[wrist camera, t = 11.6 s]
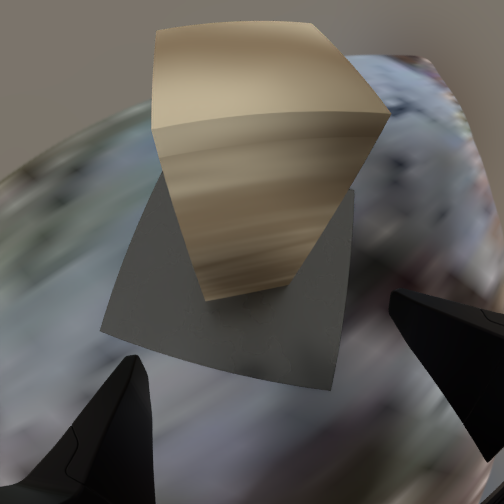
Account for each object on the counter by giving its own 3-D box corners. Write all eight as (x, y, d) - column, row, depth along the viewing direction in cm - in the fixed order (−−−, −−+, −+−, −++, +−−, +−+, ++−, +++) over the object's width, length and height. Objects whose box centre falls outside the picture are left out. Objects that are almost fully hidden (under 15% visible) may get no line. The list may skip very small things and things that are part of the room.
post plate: (327, 390, 15) (354, 394, 12) (103, 332, 16) (71, 320, 12) (351, 195, 21) (372, 161, 17) (174, 155, 21) (166, 116, 17)
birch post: (289, 284, 17) (391, 113, 5) (205, 301, 16) (151, 129, 5) (268, 212, 19) (311, 23, 7) (192, 225, 18) (156, 30, 6)
